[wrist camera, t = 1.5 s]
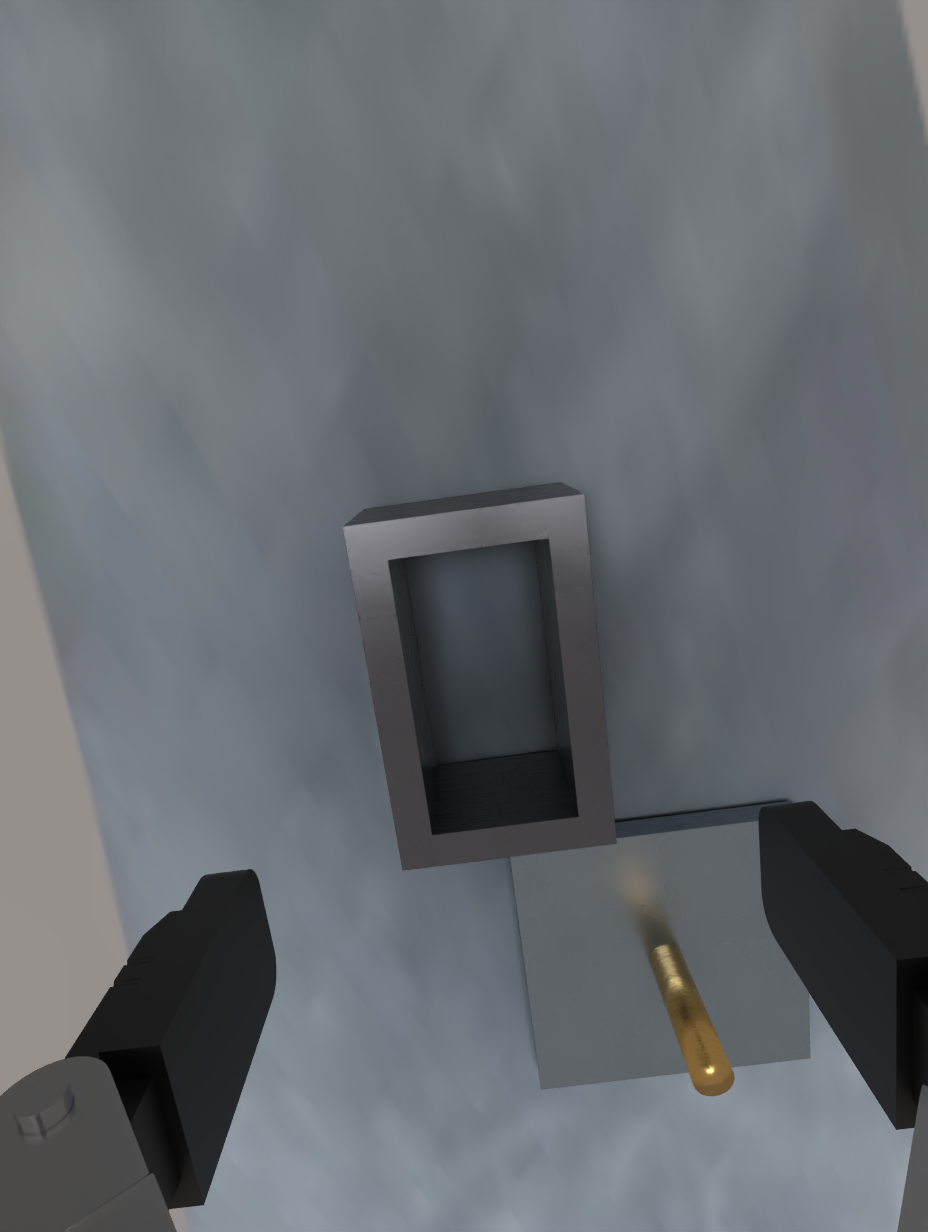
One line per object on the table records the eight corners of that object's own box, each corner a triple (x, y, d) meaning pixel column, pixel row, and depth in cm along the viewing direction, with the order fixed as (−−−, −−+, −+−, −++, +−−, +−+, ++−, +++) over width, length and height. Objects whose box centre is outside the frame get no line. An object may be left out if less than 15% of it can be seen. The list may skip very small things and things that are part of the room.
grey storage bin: (364, 508, 23) (343, 526, 19) (560, 482, 23) (584, 494, 19) (411, 795, 26) (402, 870, 21) (589, 773, 25) (617, 843, 21)
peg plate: (507, 836, 26) (521, 952, 20) (791, 800, 26) (888, 908, 20) (538, 1066, 28) (558, 1230, 23) (798, 1036, 28) (887, 1193, 22)
